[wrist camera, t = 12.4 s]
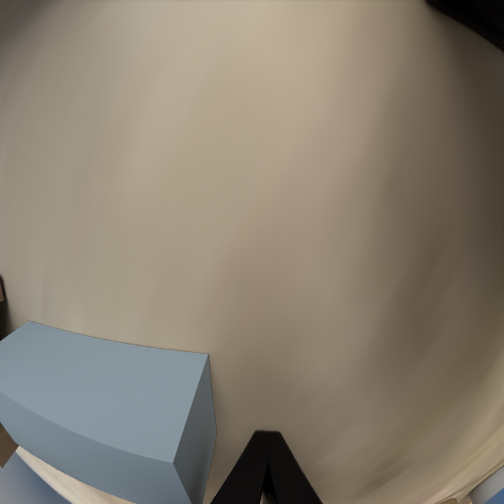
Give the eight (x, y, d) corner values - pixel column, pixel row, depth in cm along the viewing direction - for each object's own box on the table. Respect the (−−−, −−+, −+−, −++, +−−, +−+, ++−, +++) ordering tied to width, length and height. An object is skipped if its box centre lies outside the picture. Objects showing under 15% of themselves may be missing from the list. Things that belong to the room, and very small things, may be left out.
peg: (208, 353, 8) (172, 463, 4) (217, 432, 9) (199, 518, 5) (28, 320, 8) (-32, 367, 4) (57, 392, 9) (16, 443, 5)
